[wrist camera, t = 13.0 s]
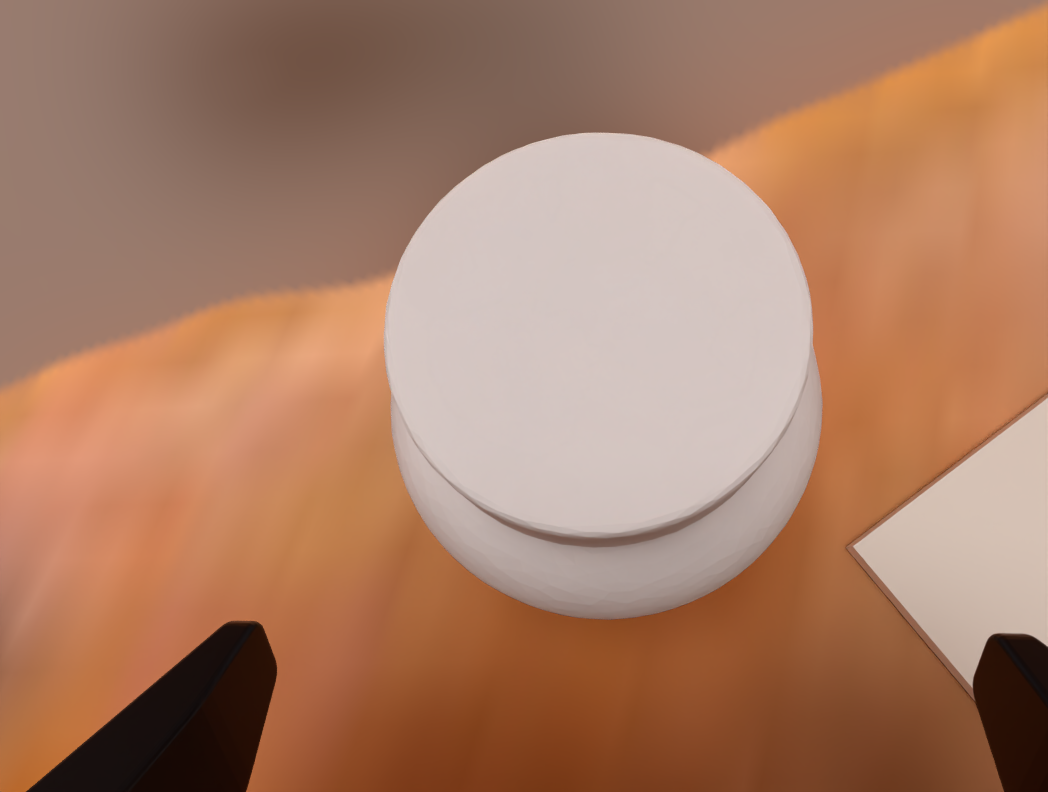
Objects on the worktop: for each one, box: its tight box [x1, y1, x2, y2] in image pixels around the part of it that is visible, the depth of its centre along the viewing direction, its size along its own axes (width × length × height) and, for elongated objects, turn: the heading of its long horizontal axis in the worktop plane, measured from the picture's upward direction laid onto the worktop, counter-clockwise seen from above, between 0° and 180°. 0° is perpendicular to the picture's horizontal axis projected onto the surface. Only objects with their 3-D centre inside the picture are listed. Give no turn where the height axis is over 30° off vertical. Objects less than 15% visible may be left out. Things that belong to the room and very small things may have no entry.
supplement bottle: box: [384, 133, 822, 620], centre depth 14 cm, size 7×7×13 cm
